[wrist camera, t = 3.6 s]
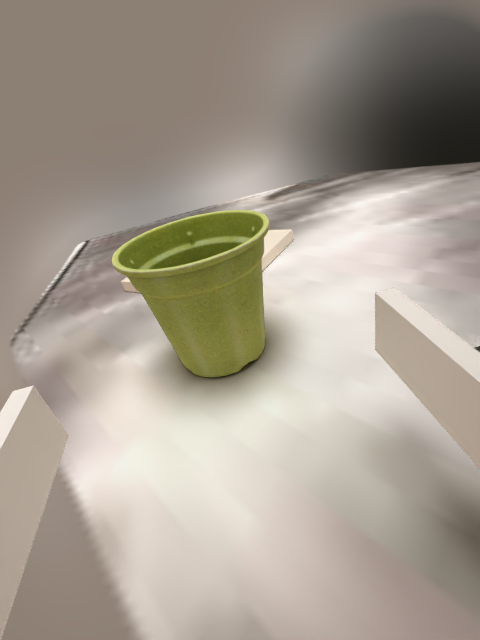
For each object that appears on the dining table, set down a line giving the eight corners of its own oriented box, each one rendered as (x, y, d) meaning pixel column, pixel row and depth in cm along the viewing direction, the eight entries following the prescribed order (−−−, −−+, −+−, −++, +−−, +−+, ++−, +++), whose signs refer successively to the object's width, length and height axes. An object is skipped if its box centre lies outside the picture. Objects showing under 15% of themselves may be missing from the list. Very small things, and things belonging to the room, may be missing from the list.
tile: (293, 239, 40) (292, 229, 39) (231, 302, 31) (228, 290, 30) (198, 240, 47) (196, 231, 47) (125, 291, 38) (120, 281, 37)
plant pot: (178, 321, 30) (142, 224, 25) (288, 307, 28) (270, 199, 24) (143, 403, 22) (82, 283, 18) (291, 390, 20) (266, 252, 16)
